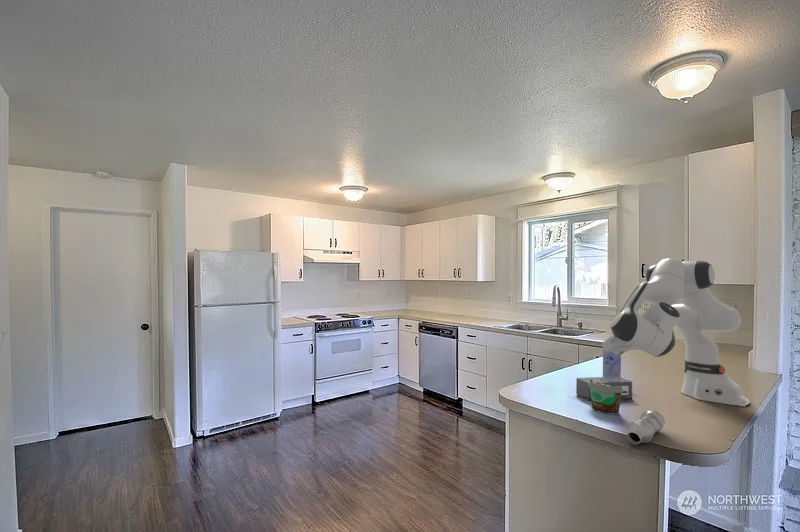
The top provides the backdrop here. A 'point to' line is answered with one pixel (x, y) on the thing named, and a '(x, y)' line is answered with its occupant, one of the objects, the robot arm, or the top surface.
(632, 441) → the plastic bottle
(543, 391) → the top surface
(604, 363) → the aerosol can
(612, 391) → the food container
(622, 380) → the box
